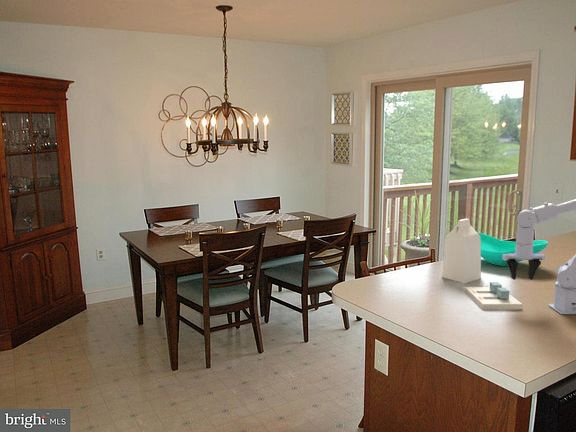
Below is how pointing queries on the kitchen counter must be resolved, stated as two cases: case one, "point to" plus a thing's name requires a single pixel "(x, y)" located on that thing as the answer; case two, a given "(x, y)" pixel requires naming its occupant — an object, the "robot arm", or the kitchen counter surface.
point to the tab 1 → (494, 286)
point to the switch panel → (491, 299)
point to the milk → (462, 253)
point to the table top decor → (503, 249)
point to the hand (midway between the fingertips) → (522, 278)
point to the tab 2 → (503, 293)
